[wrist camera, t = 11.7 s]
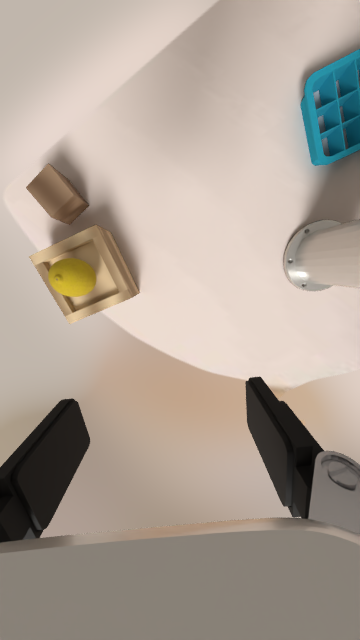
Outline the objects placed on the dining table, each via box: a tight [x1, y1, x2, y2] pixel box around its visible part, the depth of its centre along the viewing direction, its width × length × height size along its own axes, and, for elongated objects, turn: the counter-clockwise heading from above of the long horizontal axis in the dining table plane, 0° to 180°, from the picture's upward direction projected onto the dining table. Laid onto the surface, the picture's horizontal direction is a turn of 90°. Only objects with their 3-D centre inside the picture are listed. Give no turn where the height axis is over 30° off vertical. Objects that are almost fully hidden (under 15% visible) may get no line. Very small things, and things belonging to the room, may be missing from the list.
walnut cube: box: [26, 164, 89, 225], centre depth 30 cm, size 5×5×5 cm
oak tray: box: [29, 225, 139, 324], centre depth 33 cm, size 12×12×6 cm
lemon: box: [48, 258, 96, 297], centre depth 27 cm, size 6×6×8 cm
